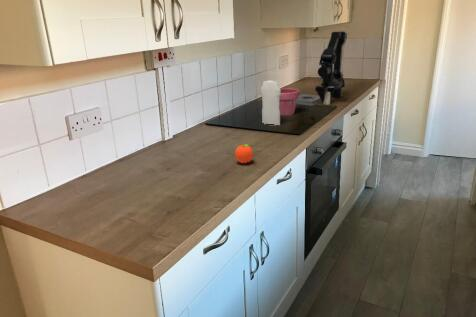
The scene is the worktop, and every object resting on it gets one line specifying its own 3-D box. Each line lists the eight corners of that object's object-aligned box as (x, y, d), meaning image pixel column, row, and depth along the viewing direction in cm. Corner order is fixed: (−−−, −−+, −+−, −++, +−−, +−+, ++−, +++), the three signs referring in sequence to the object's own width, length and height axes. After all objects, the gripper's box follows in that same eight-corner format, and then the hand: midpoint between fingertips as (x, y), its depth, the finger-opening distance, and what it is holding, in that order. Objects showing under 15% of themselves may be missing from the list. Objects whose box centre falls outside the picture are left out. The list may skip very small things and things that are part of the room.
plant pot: (286, 109, 230) (286, 86, 225) (304, 113, 219) (304, 90, 214) (267, 113, 222) (267, 90, 217) (284, 118, 211) (284, 94, 207)
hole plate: (302, 97, 256) (302, 93, 255) (325, 100, 246) (325, 96, 245) (289, 102, 244) (289, 98, 243) (312, 105, 235) (312, 101, 234)
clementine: (244, 157, 158) (244, 140, 156) (258, 160, 154) (258, 143, 152) (231, 163, 153) (230, 145, 150) (246, 167, 148) (245, 149, 146)
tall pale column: (282, 124, 201) (282, 80, 193) (279, 126, 197) (278, 81, 190) (263, 122, 206) (262, 79, 198) (259, 124, 202) (258, 80, 194)
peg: (324, 102, 240) (325, 91, 238) (331, 103, 238) (331, 91, 235) (321, 104, 237) (322, 92, 235) (328, 105, 235) (328, 93, 232)
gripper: (333, 77, 220) (332, 105, 225) (347, 72, 233) (346, 99, 239) (315, 76, 226) (314, 103, 232) (329, 71, 240) (328, 97, 245)
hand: (326, 100), depth 237 cm, fingers open, 9 cm apart
